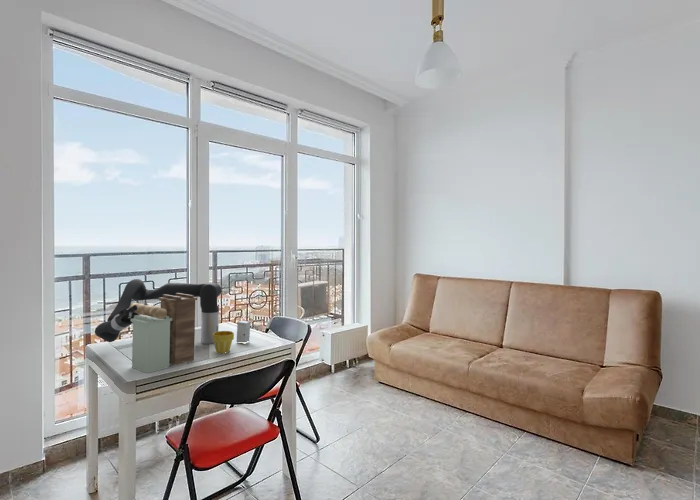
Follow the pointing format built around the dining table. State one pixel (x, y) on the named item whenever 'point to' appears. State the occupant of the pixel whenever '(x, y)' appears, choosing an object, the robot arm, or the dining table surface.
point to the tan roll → (150, 310)
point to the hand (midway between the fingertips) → (141, 306)
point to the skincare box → (243, 331)
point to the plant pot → (223, 341)
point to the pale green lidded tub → (150, 343)
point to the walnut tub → (180, 326)
